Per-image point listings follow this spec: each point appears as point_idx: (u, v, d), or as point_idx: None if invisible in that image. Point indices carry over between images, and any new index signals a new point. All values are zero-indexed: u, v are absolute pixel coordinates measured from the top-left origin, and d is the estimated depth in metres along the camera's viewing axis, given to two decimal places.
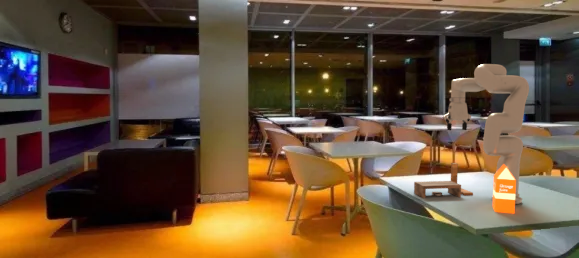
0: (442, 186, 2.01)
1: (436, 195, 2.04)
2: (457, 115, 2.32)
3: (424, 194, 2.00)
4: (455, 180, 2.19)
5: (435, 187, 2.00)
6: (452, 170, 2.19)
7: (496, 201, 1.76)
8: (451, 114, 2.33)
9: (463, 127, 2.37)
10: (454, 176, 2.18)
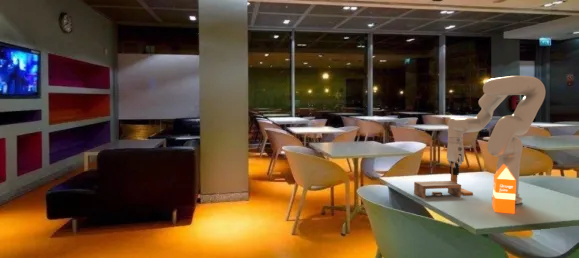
0: (442, 186, 2.01)
1: (436, 195, 2.04)
2: None
3: (424, 194, 2.00)
4: (455, 180, 2.19)
5: (435, 187, 2.00)
6: (452, 170, 2.19)
7: (496, 201, 1.76)
8: (463, 156, 2.14)
9: None
10: (454, 176, 2.18)
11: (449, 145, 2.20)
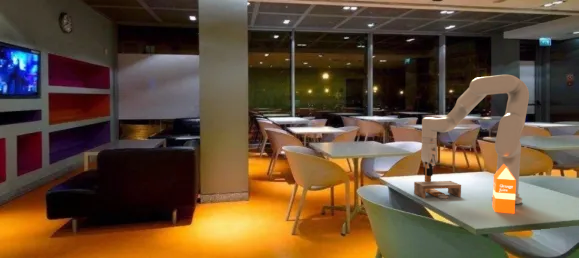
0: (442, 186, 2.01)
1: (442, 198, 1.98)
2: None
3: (424, 194, 2.00)
4: None
5: (435, 187, 2.00)
6: (426, 171, 2.15)
7: (496, 201, 1.76)
8: (436, 156, 2.10)
9: None
10: (428, 177, 2.14)
11: (423, 145, 2.16)
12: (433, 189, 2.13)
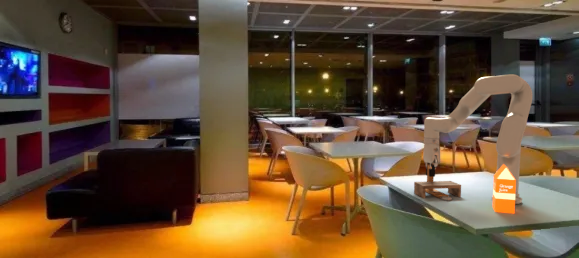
0: (442, 186, 2.01)
1: (445, 199, 1.95)
2: None
3: (424, 194, 2.00)
4: None
5: (435, 187, 2.00)
6: (428, 172, 2.12)
7: (496, 201, 1.76)
8: (438, 157, 2.08)
9: None
10: (430, 178, 2.12)
11: (425, 146, 2.13)
12: (435, 190, 2.10)
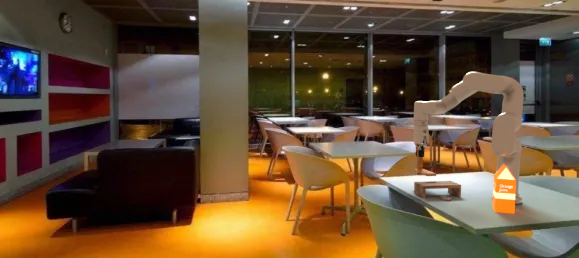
0: (442, 186, 2.01)
1: (445, 199, 1.95)
2: None
3: (424, 194, 2.00)
4: (420, 162, 2.24)
5: (435, 187, 2.00)
6: None
7: (496, 201, 1.76)
8: (427, 138, 2.19)
9: None
10: (419, 158, 2.23)
11: (415, 128, 2.25)
12: (425, 170, 2.22)
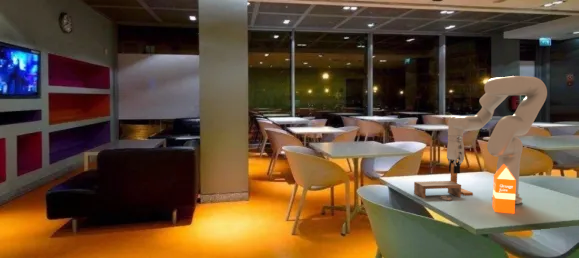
0: (442, 186, 2.01)
1: (445, 199, 1.95)
2: None
3: (424, 194, 2.00)
4: (455, 180, 2.19)
5: (435, 187, 2.00)
6: (452, 170, 2.19)
7: (496, 201, 1.76)
8: (463, 154, 2.14)
9: None
10: (454, 176, 2.19)
11: (449, 143, 2.19)
12: None
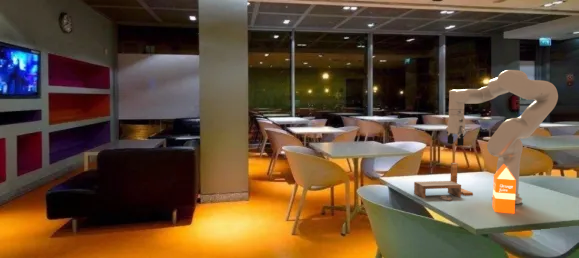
0: (442, 186, 2.01)
1: (445, 199, 1.95)
2: None
3: (424, 194, 2.00)
4: (455, 180, 2.19)
5: (435, 187, 2.00)
6: (452, 170, 2.19)
7: (496, 201, 1.76)
8: (464, 128, 2.13)
9: (450, 141, 2.23)
10: (454, 176, 2.19)
11: (450, 117, 2.18)
12: None
